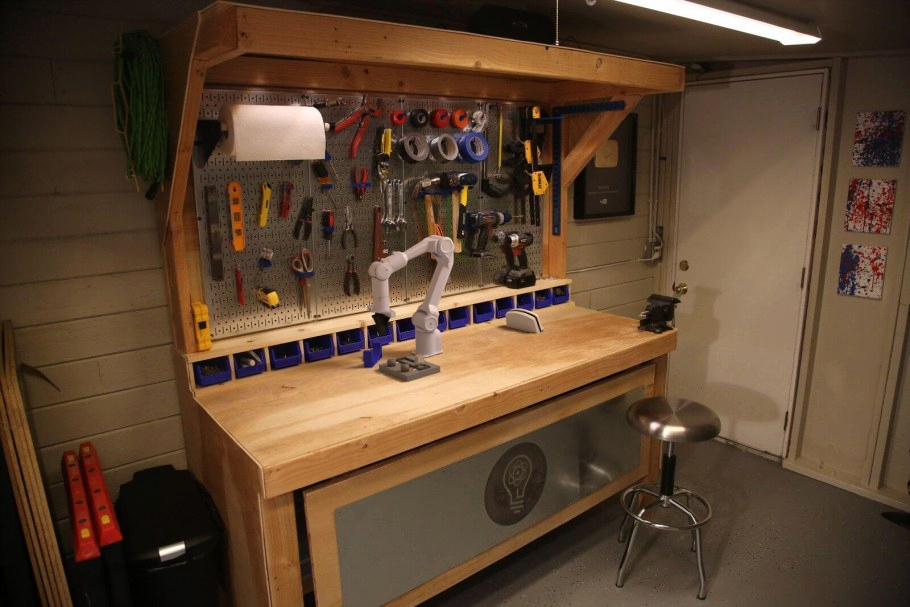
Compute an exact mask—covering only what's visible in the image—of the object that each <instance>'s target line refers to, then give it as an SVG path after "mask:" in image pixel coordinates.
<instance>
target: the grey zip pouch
mask: <svg viewBox="0 0 910 607" xmlns="http://www.w3.org/2000/svg"><path fill="white" fill-rule="evenodd" d="M504 316H505V323H506V327H507V328H511V329H516V330H521V331H525V332H529V333H534V334H539V333H540V332H541V331H542V332H545V327H544V326H542V323H541V320H540V316H539V315H538V314H537V313H535V312H533V311H530V310H527V309H523V308H512V309H509V310H508V311H507V312H506V313H505V315H504Z"/></svg>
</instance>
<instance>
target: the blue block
mask: <svg viewBox="0 0 910 607" xmlns="http://www.w3.org/2000/svg"><path fill="white" fill-rule="evenodd" d="M362 353H363V354H362V356H363V358H362V359H363V368H367V369H372V368H373V367H375V365H376V364H377V363H378V362H379V361H380V360H381V359H382V358H383V343H382V341H373V342H372V348H370V349H364V350H363V352H362Z"/></svg>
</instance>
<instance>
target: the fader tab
mask: <svg viewBox="0 0 910 607" xmlns="http://www.w3.org/2000/svg"><path fill="white" fill-rule="evenodd" d="M413 356H414V358H415V366H417V367H419V368H420V367H423V366H424V360H425V359H424V355H422V354H418V355H414V354H413Z"/></svg>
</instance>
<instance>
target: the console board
mask: <svg viewBox="0 0 910 607" xmlns="http://www.w3.org/2000/svg"><path fill="white" fill-rule="evenodd" d="M378 370H379V371H381V372H383V373H386V374H388V375H391V376H393V377H396V378H398V379H400V380H402V381H405V382H406V383H409V382H412V381H415V380H418V379H421V378H424V377H428V376H430V375H435V374H438V373H440V372H441V365H438V364H435V363H432V362H430V361H427V360H425V359H424V366H423V367H420V368H419V367H417V366H415V358H414V355H408V356H401V357H398V358H396V359H395V358H387V361H386V362H383V363H382V362H381V363H379V364H378Z"/></svg>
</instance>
